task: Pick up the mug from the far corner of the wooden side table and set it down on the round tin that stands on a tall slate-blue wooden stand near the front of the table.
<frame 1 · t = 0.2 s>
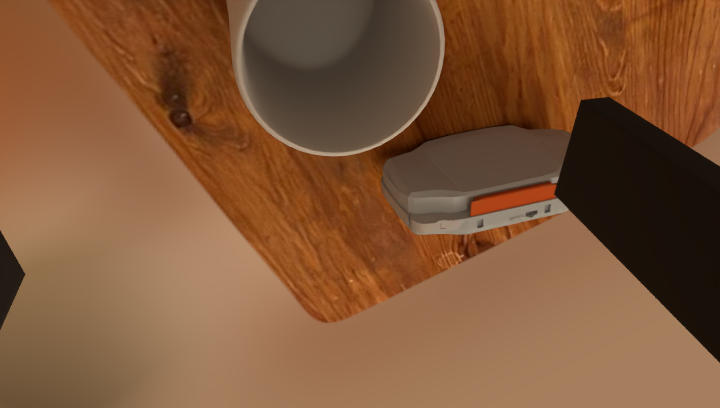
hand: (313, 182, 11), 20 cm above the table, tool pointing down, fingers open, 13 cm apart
grey case: (465, 144, 36), on the table
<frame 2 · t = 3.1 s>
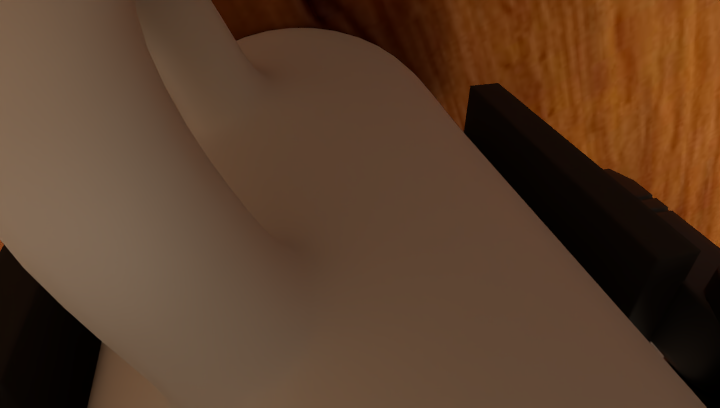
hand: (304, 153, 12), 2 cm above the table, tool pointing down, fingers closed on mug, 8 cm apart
mug: (271, 122, 13), on the table, touching gripper
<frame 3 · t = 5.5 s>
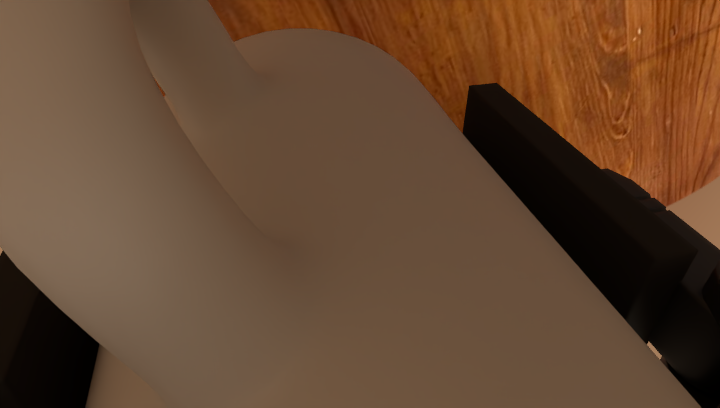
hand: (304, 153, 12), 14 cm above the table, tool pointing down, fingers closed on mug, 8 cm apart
mug: (270, 123, 13), point 13 cm above the table, touching gripper
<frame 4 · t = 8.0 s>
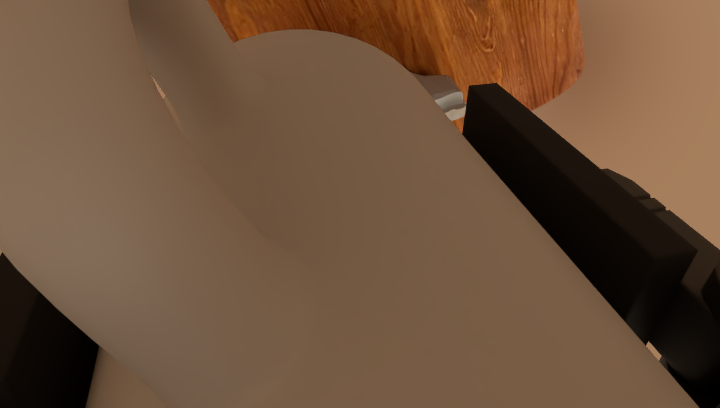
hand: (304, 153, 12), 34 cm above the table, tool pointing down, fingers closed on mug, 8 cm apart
grey case: (377, 87, 49), on the table
mug: (270, 123, 13), point 33 cm above the table, touching gripper
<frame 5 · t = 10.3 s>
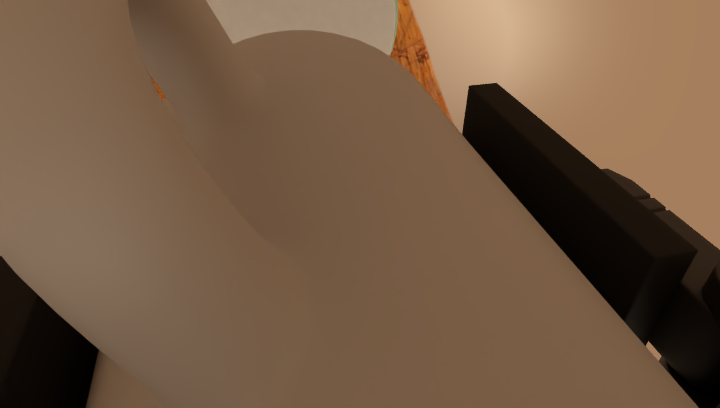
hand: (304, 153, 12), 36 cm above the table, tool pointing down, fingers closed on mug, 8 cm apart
round tin: (275, 8, 21), resting on stand
mug: (270, 124, 13), point 34 cm above the table, touching gripper
when the fingers open (29 cm above the table, at t = 12.8 s): mug stays where it is, resting on round tin.
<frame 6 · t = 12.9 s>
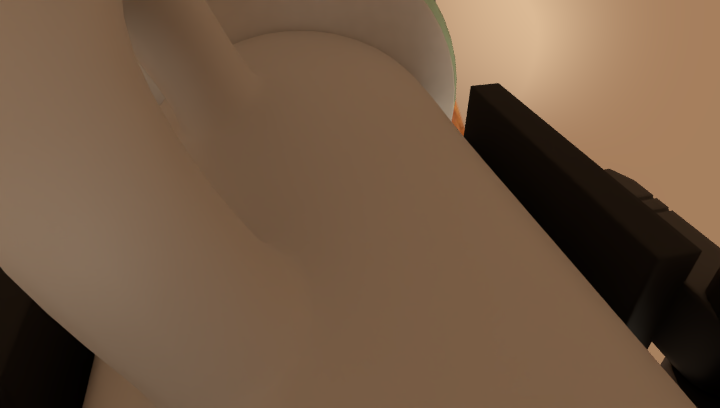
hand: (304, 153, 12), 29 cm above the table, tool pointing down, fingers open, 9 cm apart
round tin: (284, 83, 16), resting on stand
mug: (270, 125, 13), point 27 cm above the table, touching round tin
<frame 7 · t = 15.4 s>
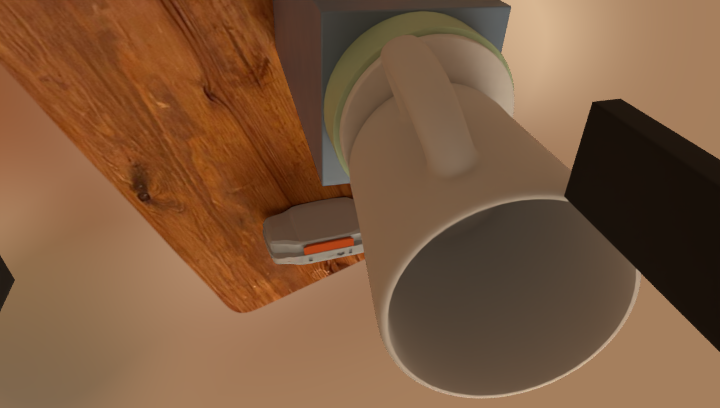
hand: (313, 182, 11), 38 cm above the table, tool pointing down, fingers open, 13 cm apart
round tin: (410, 102, 27), resting on stand
grey case: (318, 207, 60), on the table
mug: (419, 132, 24), point 27 cm above the table, touching gripper, round tin
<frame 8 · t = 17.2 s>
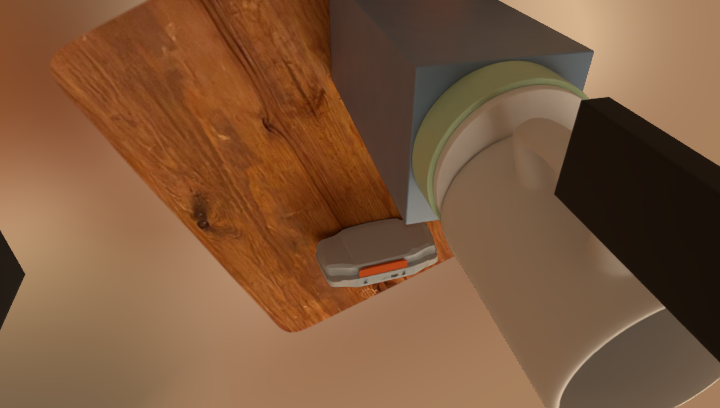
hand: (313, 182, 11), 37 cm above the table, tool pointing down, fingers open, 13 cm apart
stand: (380, 25, 46), on the table
round tin: (493, 144, 28), resting on stand
grey case: (368, 229, 61), on the table
mug: (505, 173, 25), point 27 cm above the table, touching round tin
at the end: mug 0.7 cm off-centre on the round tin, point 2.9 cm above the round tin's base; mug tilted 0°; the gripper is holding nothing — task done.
